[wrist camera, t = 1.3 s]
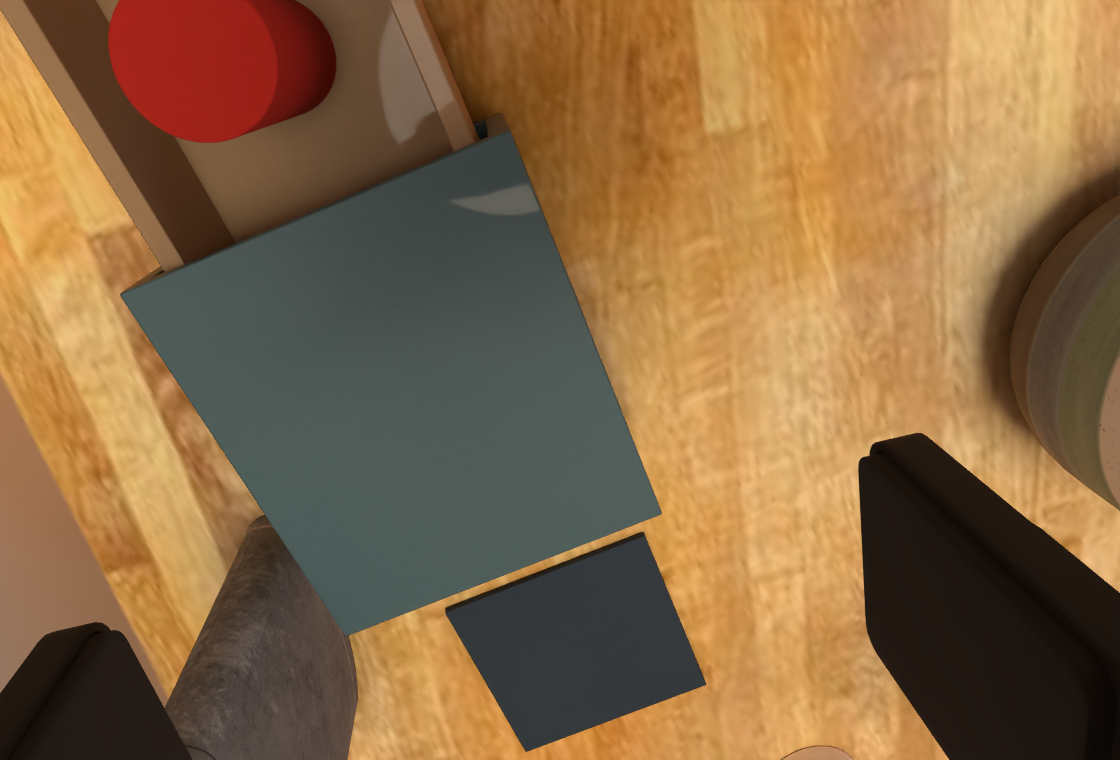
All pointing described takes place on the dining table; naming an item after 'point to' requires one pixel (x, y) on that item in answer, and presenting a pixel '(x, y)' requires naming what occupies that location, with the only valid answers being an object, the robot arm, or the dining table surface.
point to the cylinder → (220, 63)
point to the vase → (1075, 352)
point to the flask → (267, 666)
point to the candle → (819, 754)
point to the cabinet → (406, 384)
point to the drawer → (266, 154)
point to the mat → (579, 643)
